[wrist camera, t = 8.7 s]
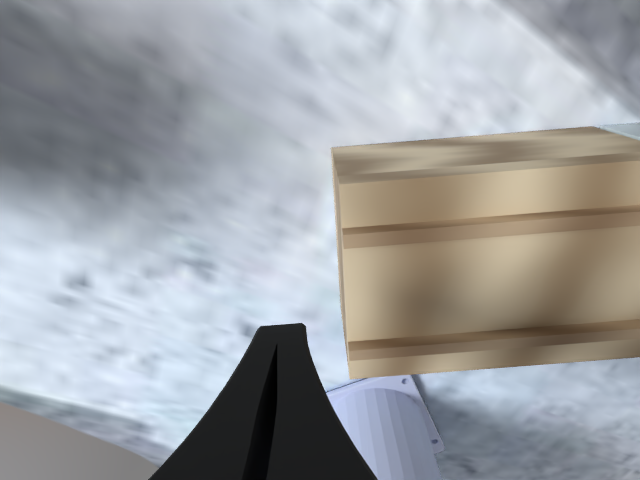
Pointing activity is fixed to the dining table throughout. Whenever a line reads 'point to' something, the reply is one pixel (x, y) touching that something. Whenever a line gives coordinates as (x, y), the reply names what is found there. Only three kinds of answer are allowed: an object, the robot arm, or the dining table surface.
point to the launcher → (488, 251)
